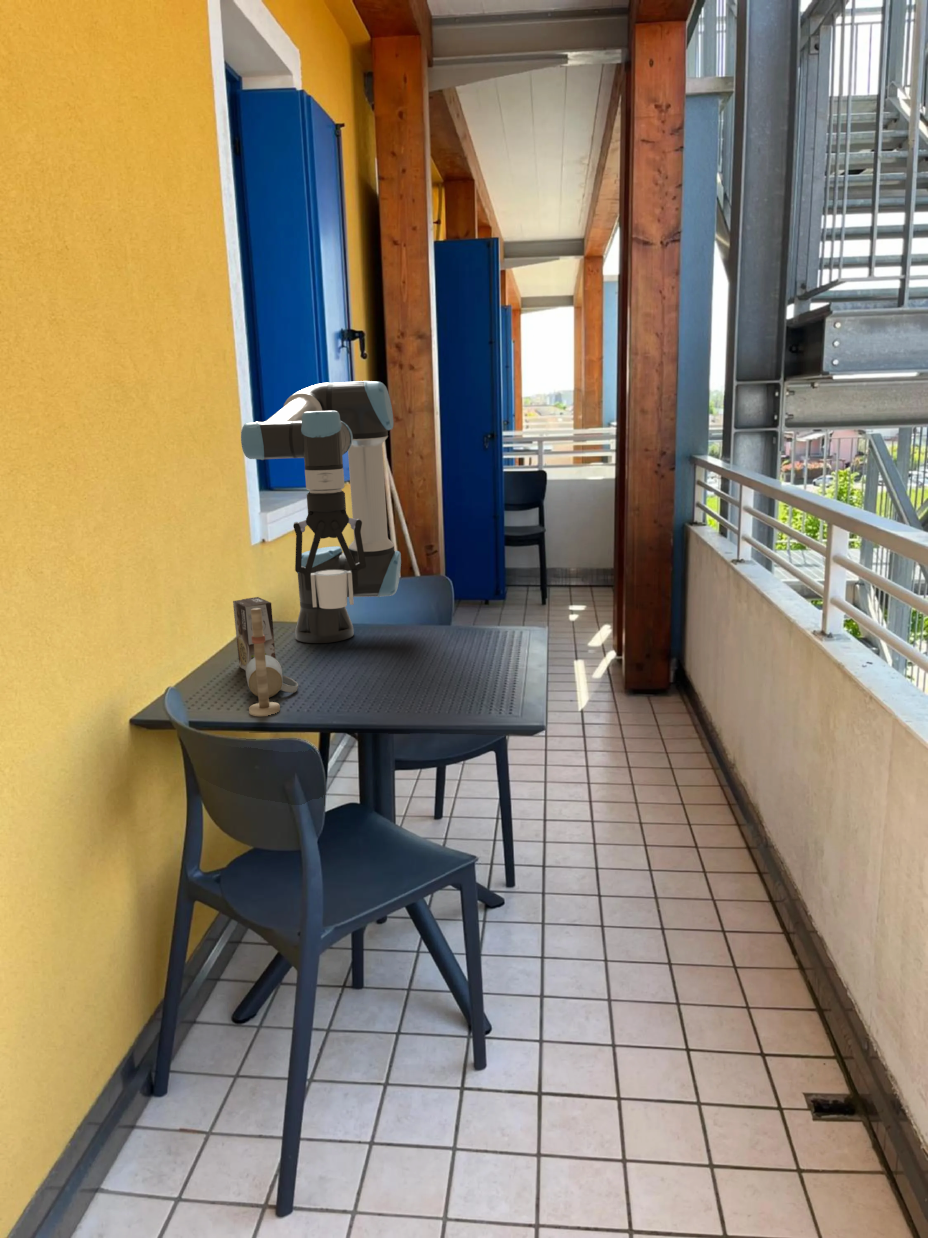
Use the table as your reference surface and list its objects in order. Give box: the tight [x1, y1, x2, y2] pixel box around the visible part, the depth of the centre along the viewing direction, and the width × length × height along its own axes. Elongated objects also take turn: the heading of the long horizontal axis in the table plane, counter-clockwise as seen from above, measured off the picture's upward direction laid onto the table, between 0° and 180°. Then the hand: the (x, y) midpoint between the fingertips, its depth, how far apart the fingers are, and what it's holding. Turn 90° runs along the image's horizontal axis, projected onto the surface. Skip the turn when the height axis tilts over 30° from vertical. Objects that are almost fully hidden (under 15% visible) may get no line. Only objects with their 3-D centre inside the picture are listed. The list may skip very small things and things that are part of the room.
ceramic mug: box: [245, 655, 299, 698], centre depth 194 cm, size 11×8×8 cm
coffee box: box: [232, 596, 277, 672], centre depth 211 cm, size 9×6×16 cm
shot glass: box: [314, 569, 348, 609], centre depth 185 cm, size 7×7×7 cm
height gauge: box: [248, 608, 281, 717], centre depth 180 cm, size 6×6×21 cm
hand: (333, 604), depth 185 cm, fingers closed on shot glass, 7 cm apart
